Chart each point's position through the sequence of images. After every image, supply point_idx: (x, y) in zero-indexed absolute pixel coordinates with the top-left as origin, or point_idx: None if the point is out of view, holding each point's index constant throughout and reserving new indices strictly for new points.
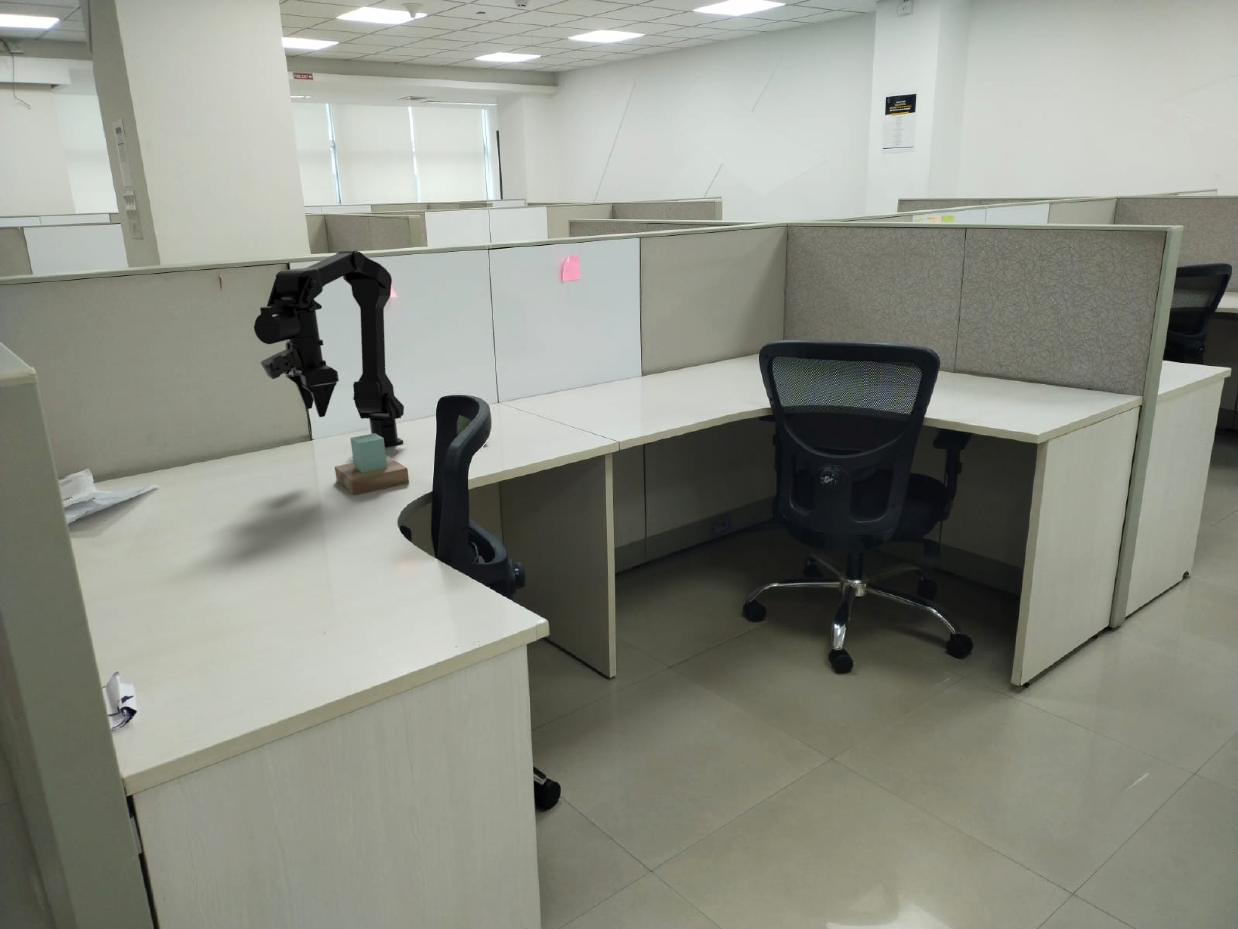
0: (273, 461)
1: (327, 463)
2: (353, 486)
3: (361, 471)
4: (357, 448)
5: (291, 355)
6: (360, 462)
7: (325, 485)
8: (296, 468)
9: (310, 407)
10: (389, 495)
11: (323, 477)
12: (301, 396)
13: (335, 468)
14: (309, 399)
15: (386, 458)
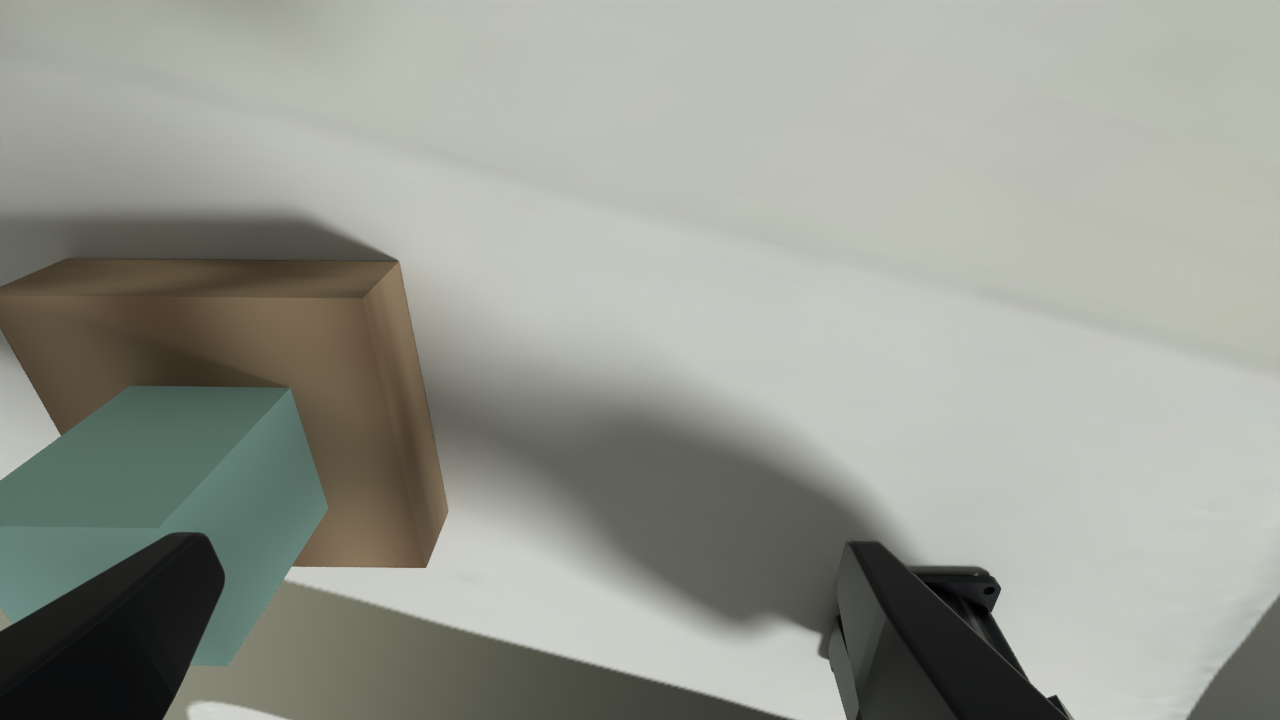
0: (1212, 37)
1: (808, 324)
2: (23, 280)
3: (144, 388)
4: (38, 487)
5: None
6: (92, 423)
7: (343, 180)
8: (869, 134)
9: (840, 586)
10: (3, 390)
11: (527, 220)
12: (997, 700)
13: (348, 294)
14: (885, 705)
15: (377, 550)
